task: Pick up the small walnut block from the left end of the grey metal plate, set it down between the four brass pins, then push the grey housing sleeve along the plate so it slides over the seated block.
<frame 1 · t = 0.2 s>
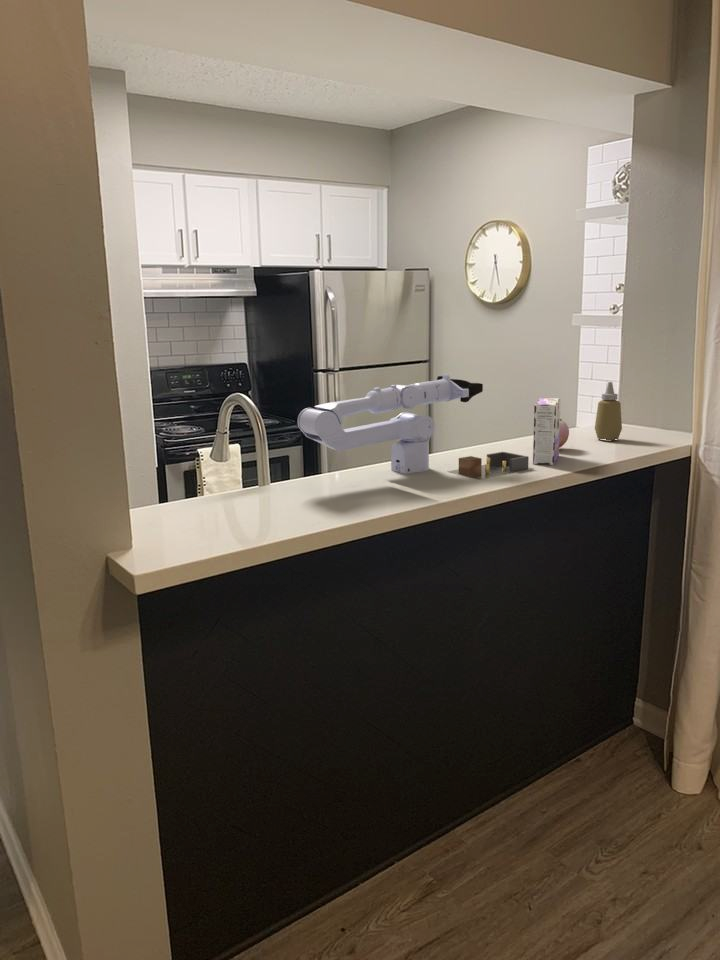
hand: (472, 385, 208), 21 cm above the table, tool horizontal, fingers open, 7 cm apart
walnut block: (470, 474, 194), point 1 cm above the table, touching base plate
decorative fruit: (554, 450, 229), on the table
housing: (507, 461, 201), point 3 cm above the table, slide at 0.0 cm
squeeze bottle: (607, 440, 242), on the table
candy box: (546, 460, 215), on the table
base plate: (490, 474, 198), on the table
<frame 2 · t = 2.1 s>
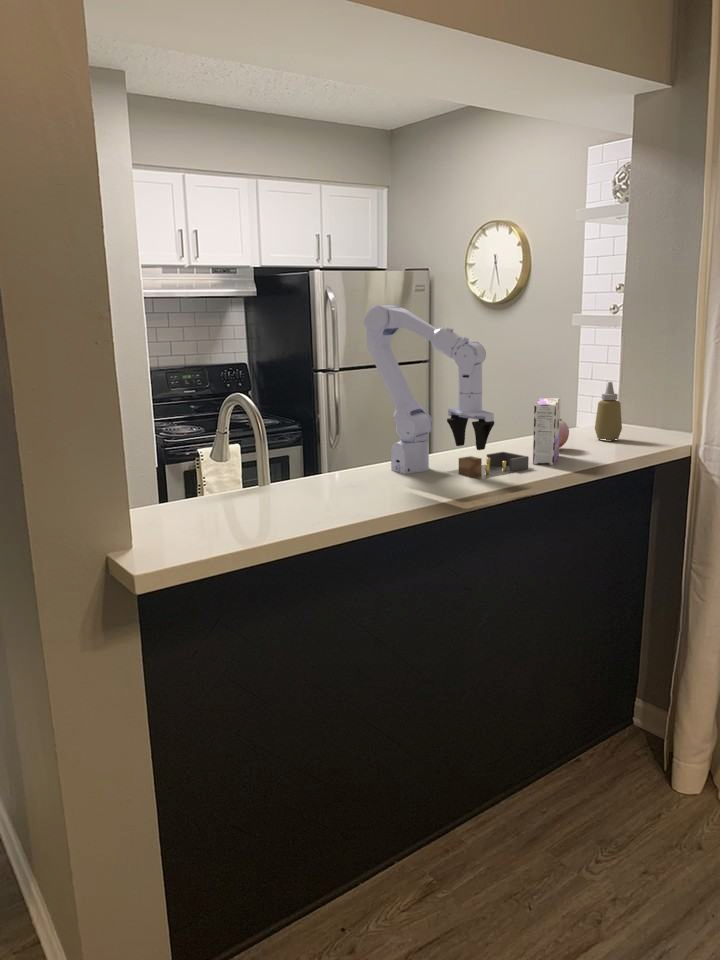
hand: (470, 447, 193), 8 cm above the table, tool pointing down, fingers open, 7 cm apart
nothing on the table moved.
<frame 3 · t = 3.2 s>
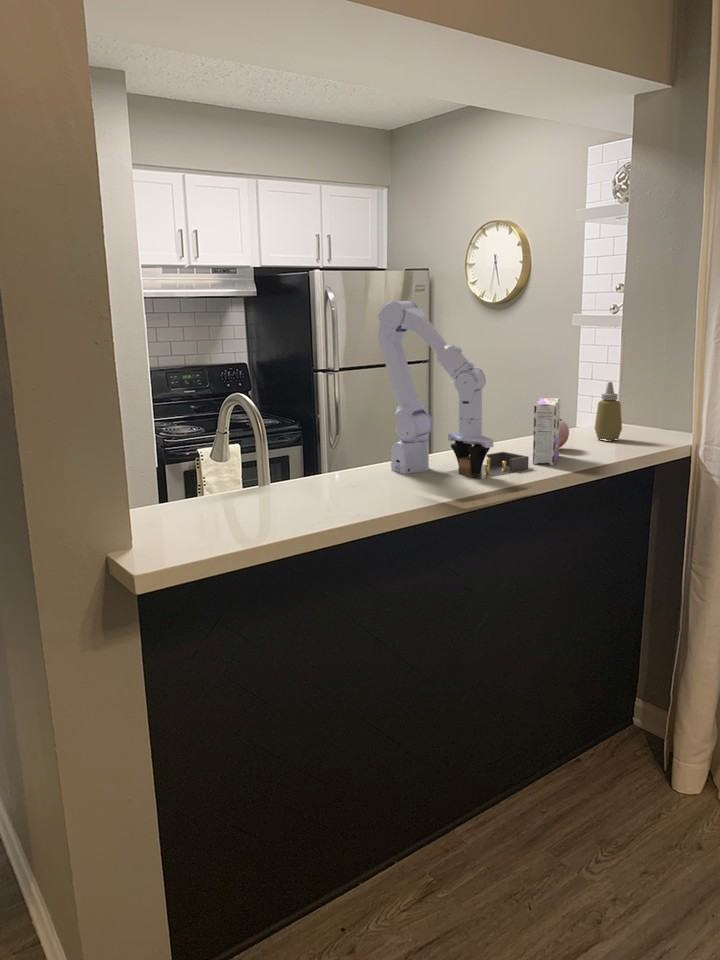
hand: (470, 472, 194), 2 cm above the table, tool pointing down, fingers closed on walnut block, 4 cm apart
walnut block: (470, 474, 194), point 1 cm above the table, touching base plate, gripper
everything else where it was.
when the fingers open (3 cm above the table, at t = 6.0 s): walnut block stays where it is, resting on base plate.
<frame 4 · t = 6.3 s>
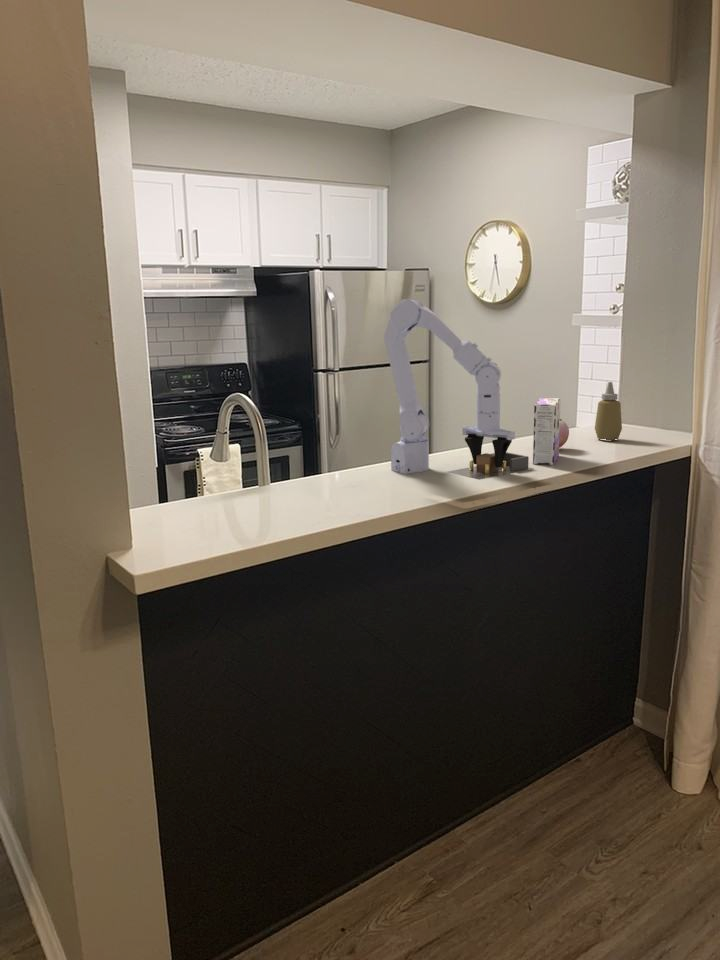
hand: (487, 465, 197), 3 cm above the table, tool pointing down, fingers open, 6 cm apart
walnut block: (487, 470, 197), point 1 cm above the table, touching base plate
everything else where it was.
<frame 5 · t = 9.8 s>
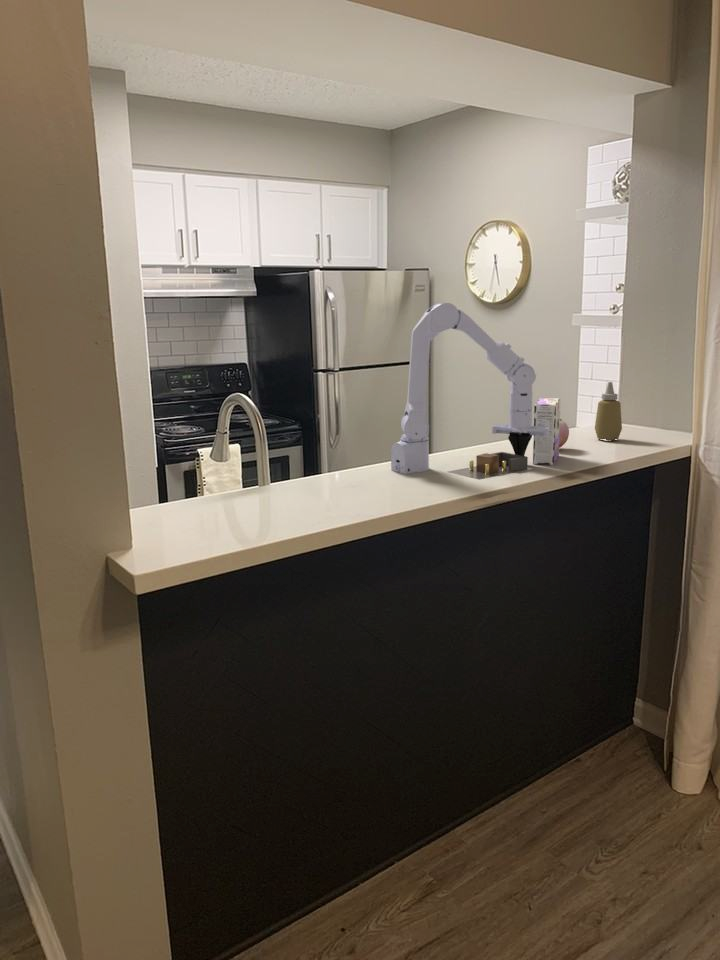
hand: (519, 461, 204), 2 cm above the table, tool pointing down, fingers closed
housing: (506, 461, 201), point 3 cm above the table, slide at 0.3 cm, touching gripper
everything else where it was.
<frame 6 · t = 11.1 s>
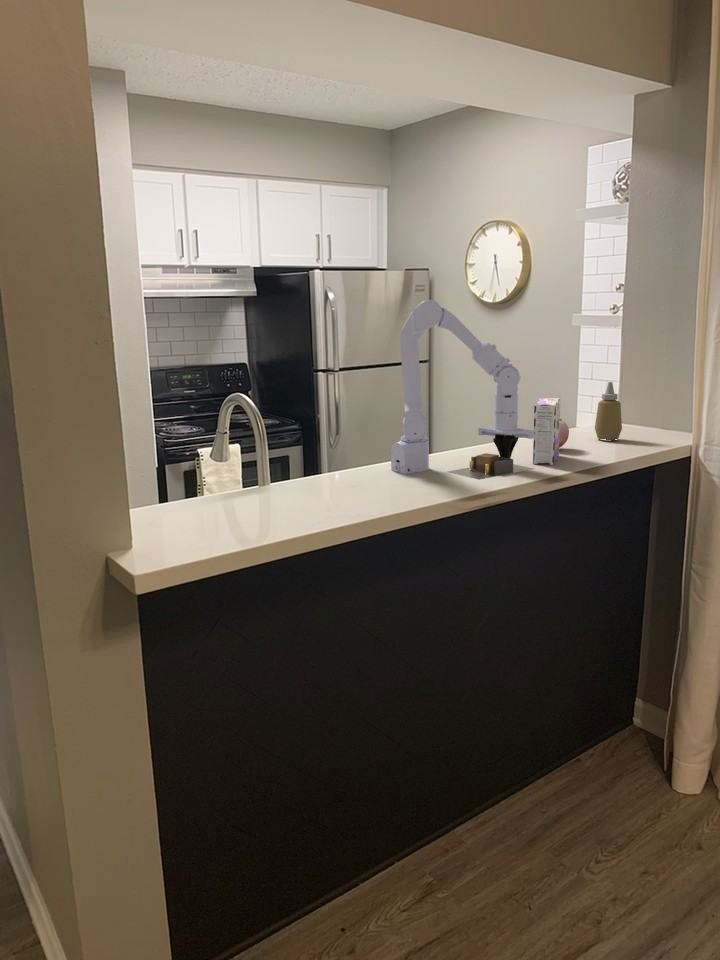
hand: (505, 464, 201), 2 cm above the table, tool pointing down, fingers closed
housing: (492, 463, 198), point 3 cm above the table, slide at 5.4 cm, touching gripper
everything else where it was.
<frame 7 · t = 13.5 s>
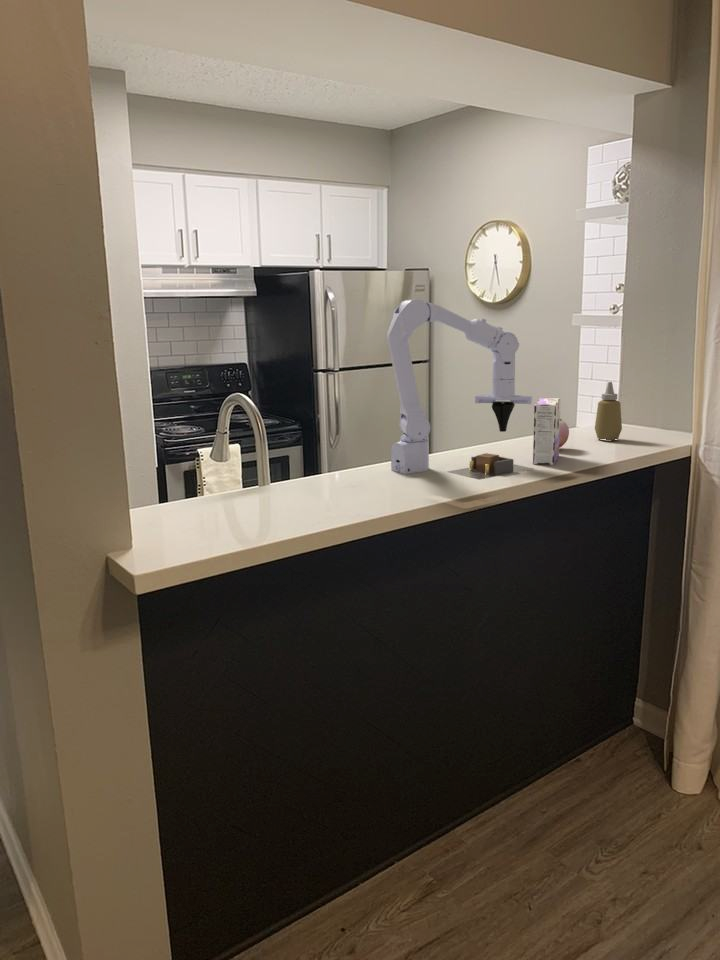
hand: (503, 431, 204), 10 cm above the table, tool pointing down, fingers closed
housing: (492, 463, 198), point 3 cm above the table, slide at 5.3 cm
everything else where it was.
at the end: walnut block 0.1 cm from the target spot on the base plate, point 1.2 cm above the base plate's base; walnut block tilted 0°; housing slide at 5.3 cm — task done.
